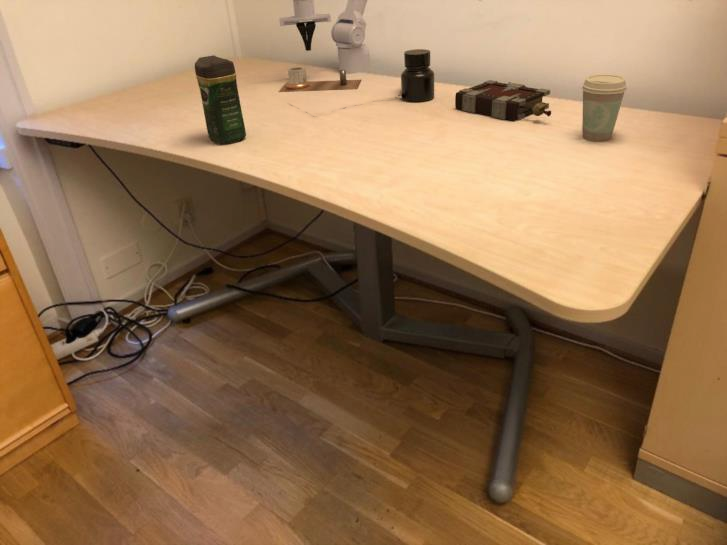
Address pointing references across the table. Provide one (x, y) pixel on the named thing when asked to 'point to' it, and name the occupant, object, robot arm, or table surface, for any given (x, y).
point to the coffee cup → (601, 105)
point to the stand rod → (343, 77)
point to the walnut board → (325, 86)
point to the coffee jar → (220, 99)
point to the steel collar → (297, 76)
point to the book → (502, 100)
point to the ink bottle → (417, 76)
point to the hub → (297, 85)
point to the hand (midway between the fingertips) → (308, 50)
